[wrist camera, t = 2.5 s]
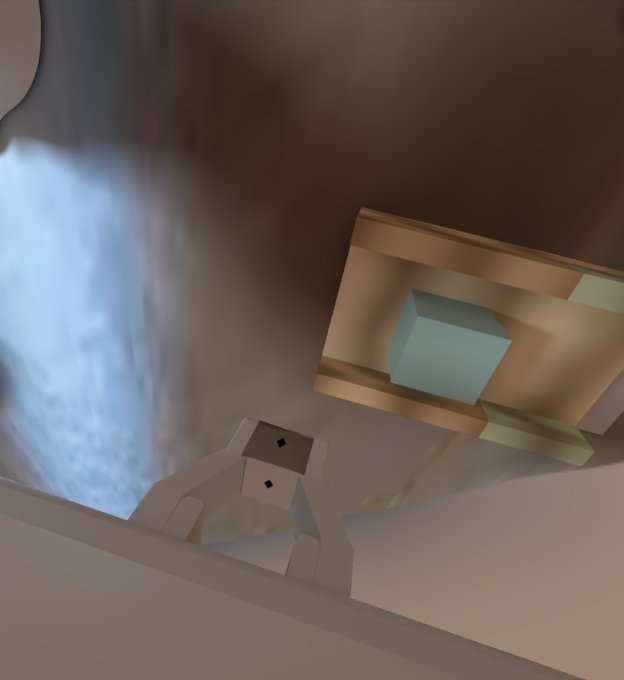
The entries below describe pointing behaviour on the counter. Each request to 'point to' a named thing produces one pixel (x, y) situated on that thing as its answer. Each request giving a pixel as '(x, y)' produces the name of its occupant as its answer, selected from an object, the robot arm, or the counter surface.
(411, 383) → the block
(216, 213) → the counter surface
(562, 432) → the channel
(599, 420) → the mat
